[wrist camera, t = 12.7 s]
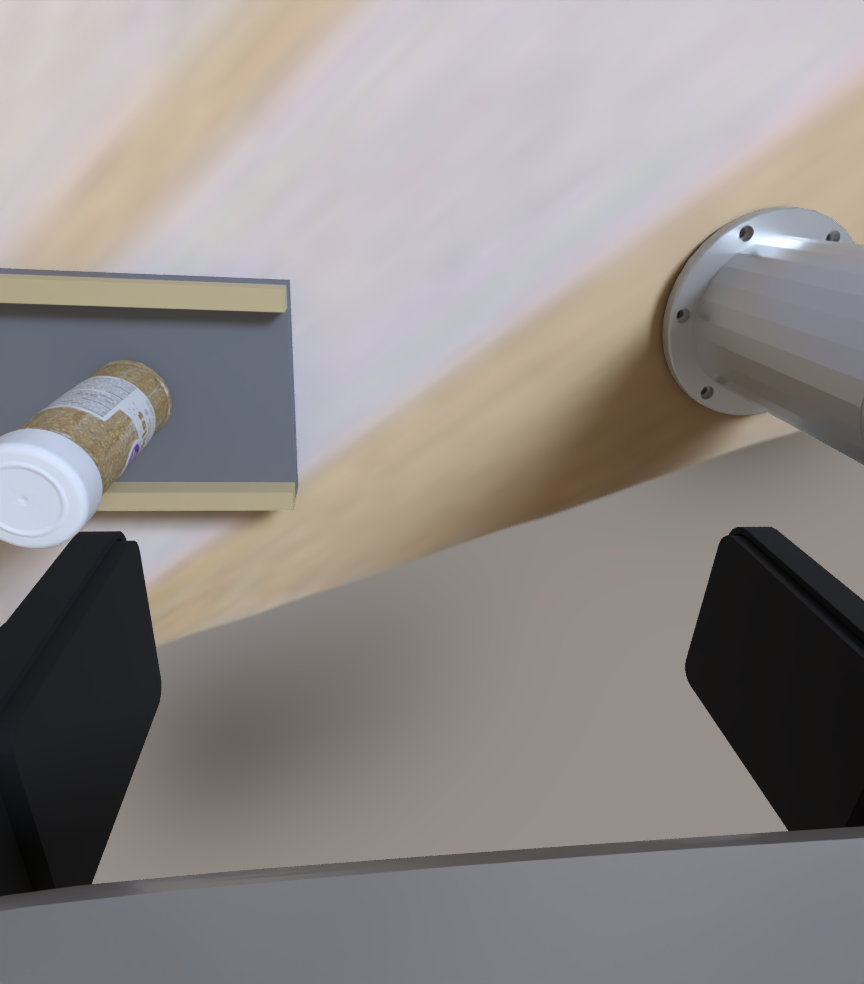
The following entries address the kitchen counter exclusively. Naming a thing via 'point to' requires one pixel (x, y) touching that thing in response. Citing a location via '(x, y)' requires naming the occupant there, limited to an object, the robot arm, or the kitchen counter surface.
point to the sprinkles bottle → (77, 452)
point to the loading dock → (166, 377)
